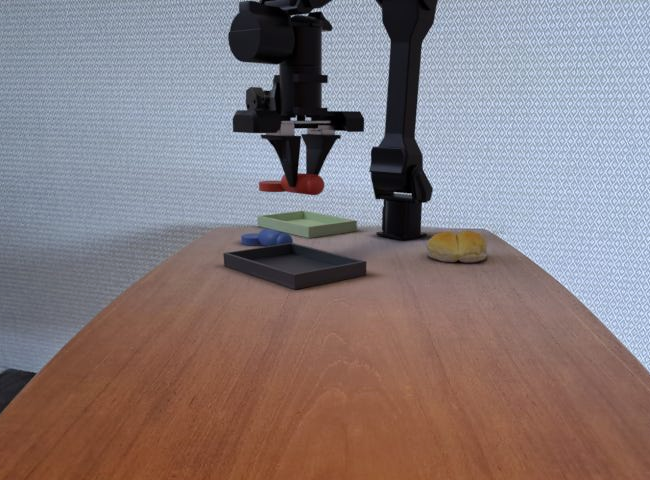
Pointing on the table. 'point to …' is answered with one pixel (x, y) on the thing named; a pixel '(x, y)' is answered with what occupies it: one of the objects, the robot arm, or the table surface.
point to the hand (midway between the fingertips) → (301, 186)
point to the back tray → (307, 223)
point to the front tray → (295, 265)
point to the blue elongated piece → (266, 238)
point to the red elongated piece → (303, 185)
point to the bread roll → (457, 247)
